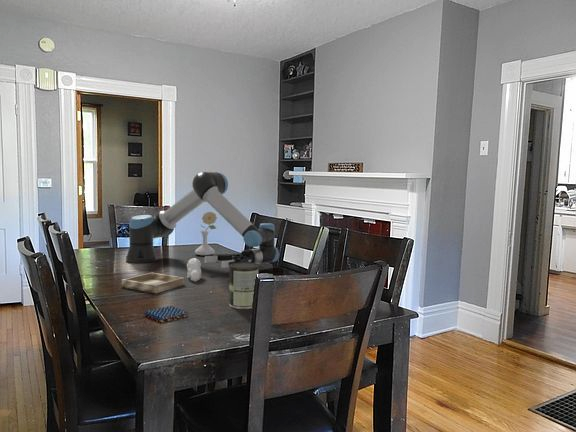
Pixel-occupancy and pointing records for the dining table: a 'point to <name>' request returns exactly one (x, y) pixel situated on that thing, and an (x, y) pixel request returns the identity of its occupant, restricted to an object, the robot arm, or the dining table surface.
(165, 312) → the woven mat
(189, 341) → the dining table surface
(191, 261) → the white rounded lump
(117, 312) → the dining table surface
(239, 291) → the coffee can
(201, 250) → the flower in vase
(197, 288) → the dining table surface
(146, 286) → the birch tray
